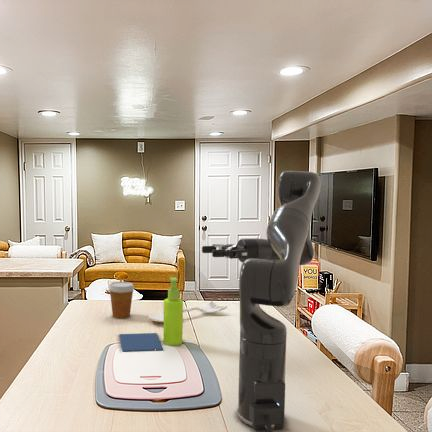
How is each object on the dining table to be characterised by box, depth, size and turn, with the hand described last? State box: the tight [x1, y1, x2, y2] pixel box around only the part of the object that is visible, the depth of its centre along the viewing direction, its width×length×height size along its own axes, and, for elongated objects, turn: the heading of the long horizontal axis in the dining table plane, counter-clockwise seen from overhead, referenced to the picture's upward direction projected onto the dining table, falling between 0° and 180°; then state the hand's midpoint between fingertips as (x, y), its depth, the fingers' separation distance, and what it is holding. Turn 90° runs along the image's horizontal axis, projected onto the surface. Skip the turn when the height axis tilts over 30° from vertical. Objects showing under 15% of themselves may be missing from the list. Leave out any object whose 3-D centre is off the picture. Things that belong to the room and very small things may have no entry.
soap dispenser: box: [162, 276, 184, 346], centre depth 133 cm, size 6×7×20 cm
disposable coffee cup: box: [108, 281, 135, 319], centre depth 160 cm, size 10×10×12 cm
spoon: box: [147, 301, 228, 324], centre depth 159 cm, size 9×32×4 cm, turn 121°
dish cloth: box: [119, 332, 164, 353], centre depth 133 cm, size 14×12×1 cm
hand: (207, 251), depth 135 cm, fingers open, 8 cm apart
